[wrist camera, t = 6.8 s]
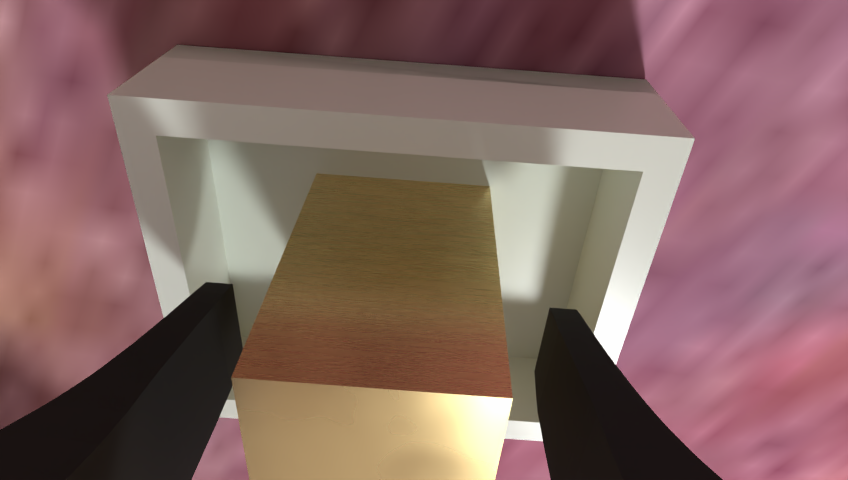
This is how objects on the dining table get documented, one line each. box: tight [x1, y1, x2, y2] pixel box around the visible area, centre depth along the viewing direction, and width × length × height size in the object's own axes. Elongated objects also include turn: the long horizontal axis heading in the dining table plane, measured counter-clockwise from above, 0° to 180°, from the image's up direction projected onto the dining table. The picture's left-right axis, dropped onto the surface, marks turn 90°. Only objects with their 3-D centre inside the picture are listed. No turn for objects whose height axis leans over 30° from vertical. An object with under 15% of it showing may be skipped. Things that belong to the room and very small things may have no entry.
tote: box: [107, 45, 695, 441], centre depth 16 cm, size 10×12×4 cm
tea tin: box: [231, 173, 513, 480], centre depth 13 cm, size 4×4×7 cm
